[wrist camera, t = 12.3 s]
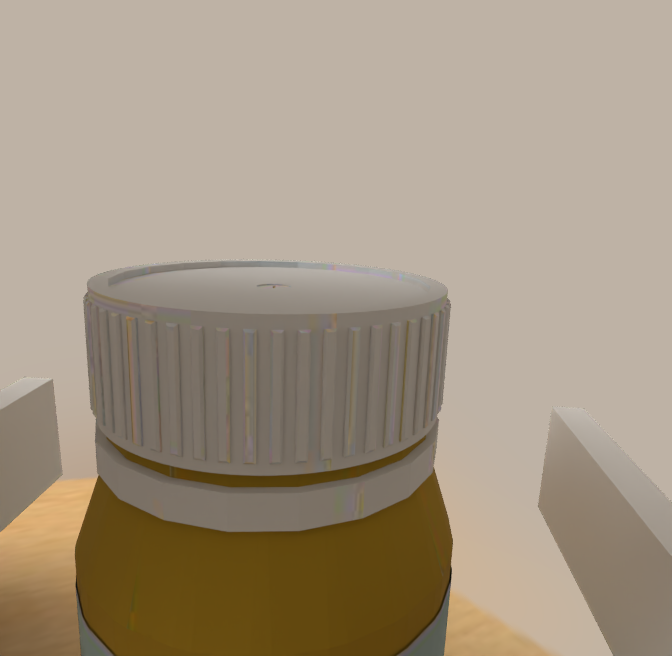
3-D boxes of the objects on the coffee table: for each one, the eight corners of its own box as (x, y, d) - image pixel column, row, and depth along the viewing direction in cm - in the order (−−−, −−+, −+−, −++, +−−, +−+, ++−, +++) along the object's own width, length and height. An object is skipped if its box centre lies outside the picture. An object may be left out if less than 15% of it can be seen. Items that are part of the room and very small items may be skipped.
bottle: (321, 720, 18) (339, 254, 14) (480, 977, 12) (572, 301, 9) (86, 842, 14) (36, 261, 11) (152, 1289, 8) (89, 347, 5)
